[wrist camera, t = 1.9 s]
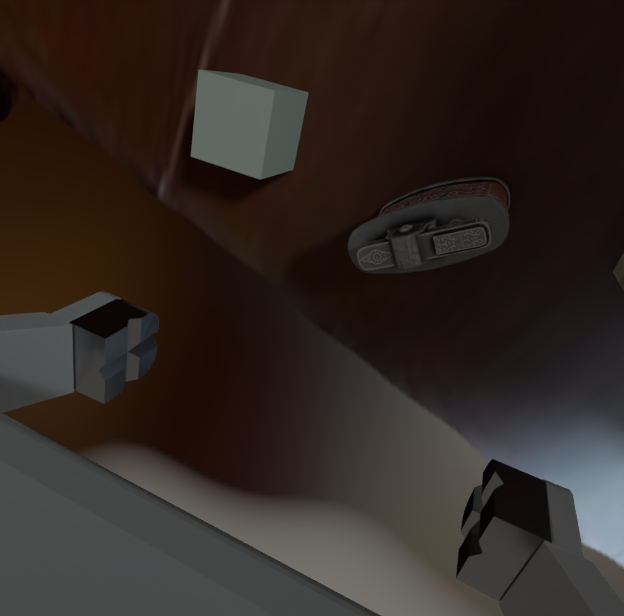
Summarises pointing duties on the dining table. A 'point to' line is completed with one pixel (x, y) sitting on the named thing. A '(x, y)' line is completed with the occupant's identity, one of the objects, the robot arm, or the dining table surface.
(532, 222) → the dining table surface
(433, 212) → the lighter
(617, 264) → the cream rounded lump
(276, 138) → the sage block
